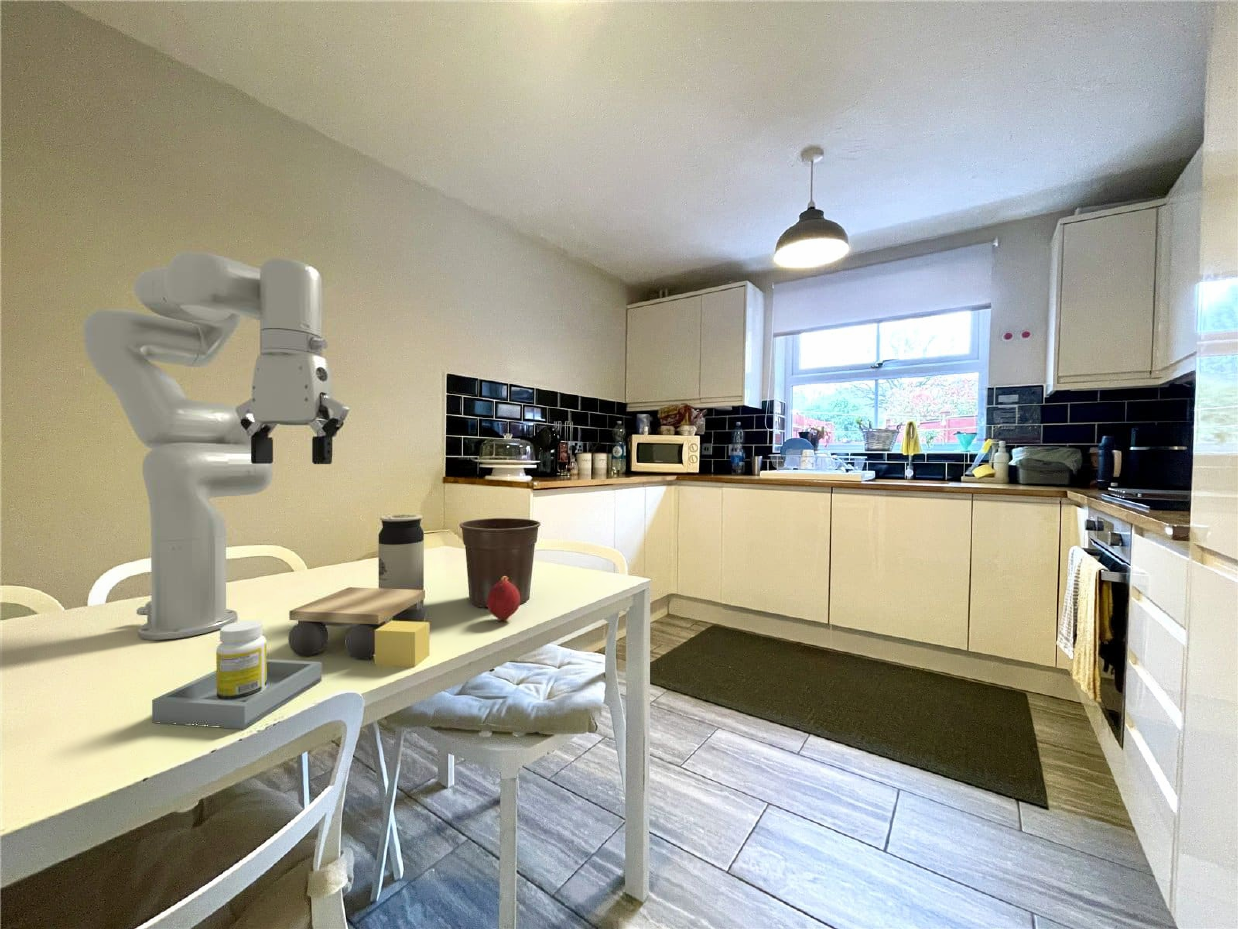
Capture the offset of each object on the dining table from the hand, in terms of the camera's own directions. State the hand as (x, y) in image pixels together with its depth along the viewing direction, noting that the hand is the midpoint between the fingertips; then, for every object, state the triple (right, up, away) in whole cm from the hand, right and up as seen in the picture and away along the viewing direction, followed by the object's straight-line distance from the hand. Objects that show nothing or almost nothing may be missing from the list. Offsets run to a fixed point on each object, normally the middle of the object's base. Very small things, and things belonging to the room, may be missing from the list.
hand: (292, 463), depth 70 cm
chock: (+17, -29, -2) cm, 33 cm away
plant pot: (+24, -28, +28) cm, 46 cm away
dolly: (+7, -28, +5) cm, 30 cm away
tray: (+3, -28, -13) cm, 32 cm away
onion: (+28, -29, +15) cm, 43 cm away
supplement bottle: (+3, -28, -13) cm, 31 cm away
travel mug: (+6, -28, +22) cm, 36 cm away
